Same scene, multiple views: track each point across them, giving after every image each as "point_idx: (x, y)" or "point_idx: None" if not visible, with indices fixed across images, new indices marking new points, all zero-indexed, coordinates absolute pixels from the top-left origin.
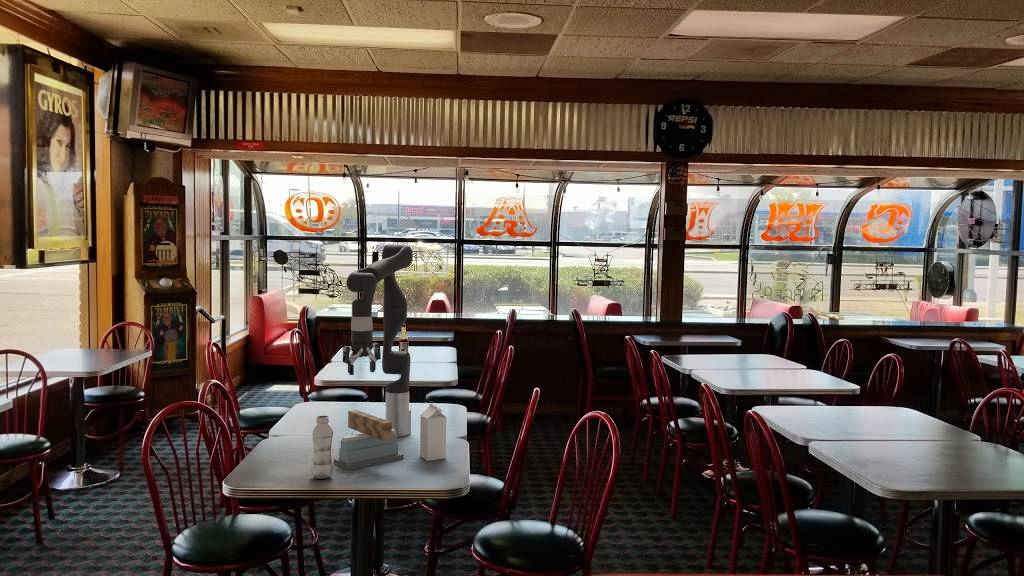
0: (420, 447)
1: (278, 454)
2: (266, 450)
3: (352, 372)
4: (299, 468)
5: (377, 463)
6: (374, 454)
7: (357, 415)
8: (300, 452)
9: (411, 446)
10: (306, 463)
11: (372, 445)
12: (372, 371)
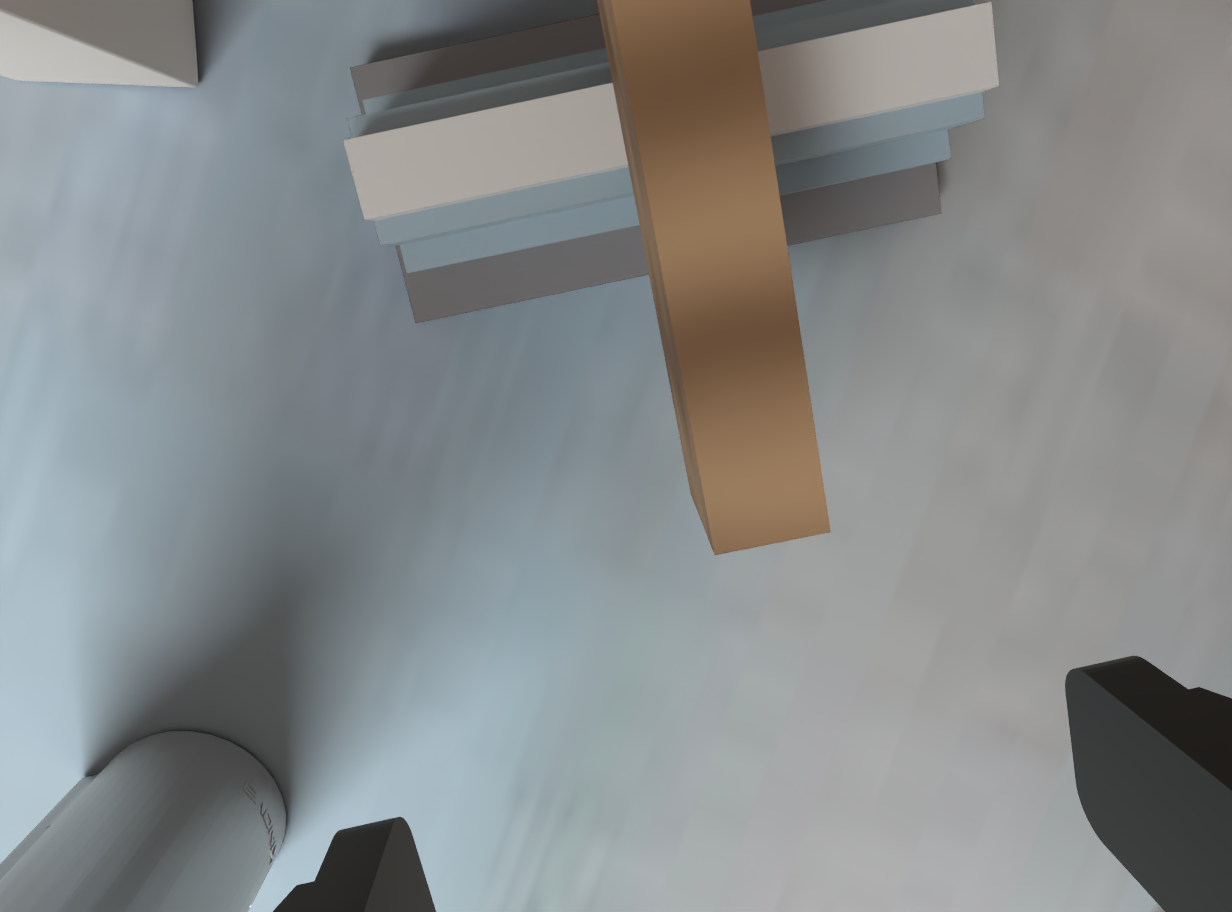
0: (161, 61)
1: (1189, 627)
2: None
3: (1166, 684)
4: (1208, 187)
5: None
6: None
7: (790, 288)
8: (1034, 615)
9: (182, 424)
10: (1110, 302)
11: None
12: (403, 845)
